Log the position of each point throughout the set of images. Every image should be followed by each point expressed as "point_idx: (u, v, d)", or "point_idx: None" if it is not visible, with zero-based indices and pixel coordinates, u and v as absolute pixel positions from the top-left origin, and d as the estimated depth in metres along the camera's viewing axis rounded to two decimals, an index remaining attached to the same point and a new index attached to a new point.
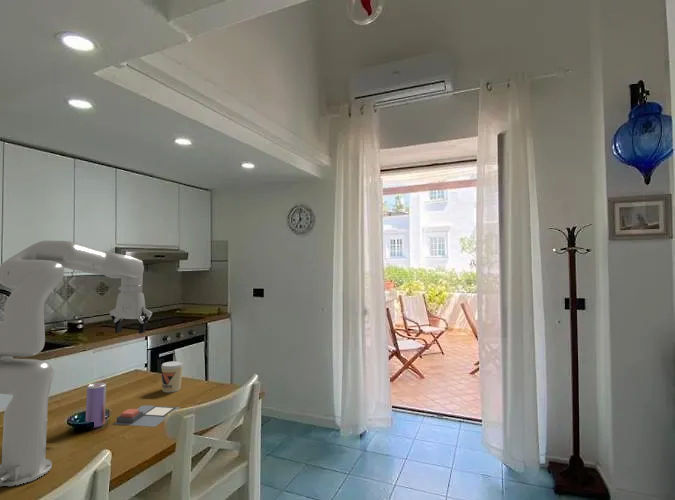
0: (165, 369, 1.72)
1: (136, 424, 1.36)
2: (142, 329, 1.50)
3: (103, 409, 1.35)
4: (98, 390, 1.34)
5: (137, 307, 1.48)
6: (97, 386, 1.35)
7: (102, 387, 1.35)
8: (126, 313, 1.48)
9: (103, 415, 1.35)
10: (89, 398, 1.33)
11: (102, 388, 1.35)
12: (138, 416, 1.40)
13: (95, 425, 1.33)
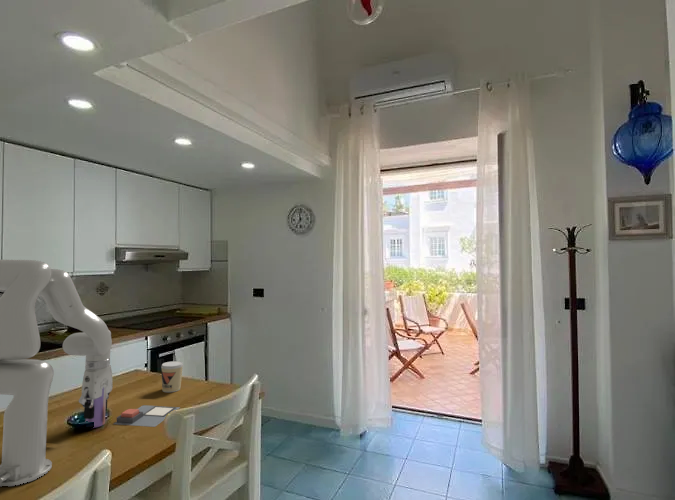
0: (165, 369, 1.72)
1: (136, 424, 1.36)
2: None
3: (103, 409, 1.35)
4: None
5: (111, 379, 1.40)
6: None
7: None
8: None
9: (103, 415, 1.35)
10: None
11: None
12: (138, 416, 1.40)
13: (95, 425, 1.33)
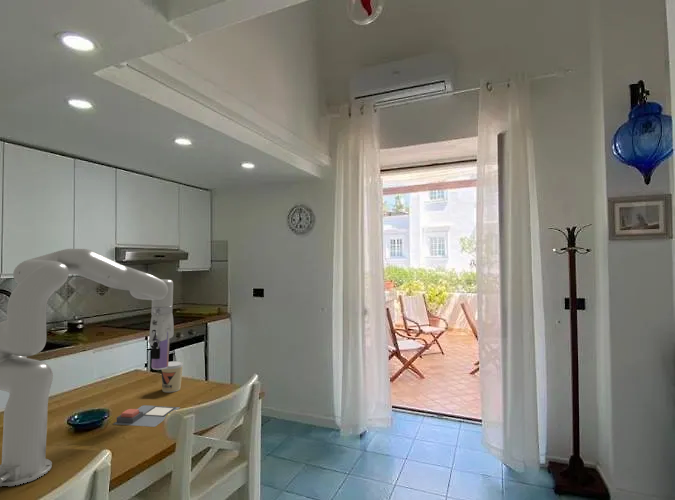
0: (165, 369, 1.72)
1: (136, 424, 1.36)
2: None
3: (167, 351, 1.48)
4: None
5: (173, 325, 1.53)
6: None
7: None
8: None
9: (167, 357, 1.48)
10: None
11: None
12: (138, 416, 1.40)
13: (161, 365, 1.46)
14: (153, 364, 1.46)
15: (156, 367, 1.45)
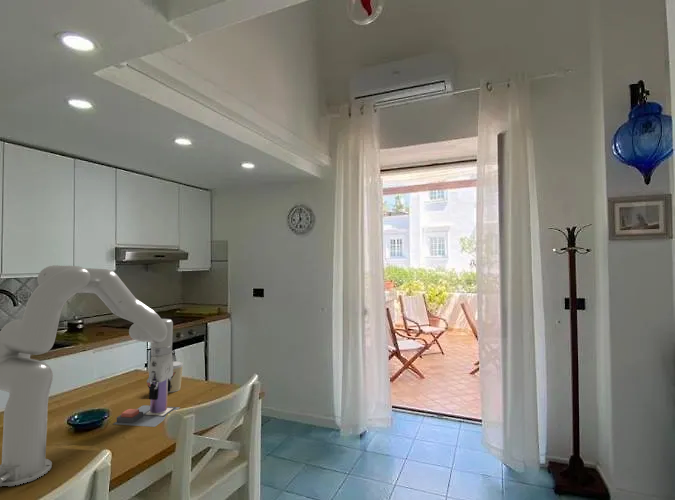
0: None
1: (136, 424, 1.36)
2: None
3: (166, 395, 1.47)
4: None
5: (172, 364, 1.52)
6: None
7: None
8: (167, 374, 1.48)
9: (166, 400, 1.47)
10: None
11: None
12: (138, 416, 1.40)
13: (159, 409, 1.45)
14: (152, 408, 1.45)
15: (155, 412, 1.45)
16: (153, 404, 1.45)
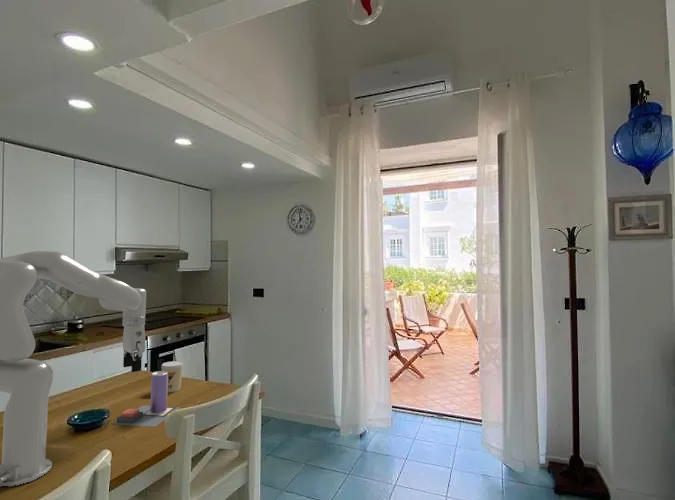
0: (165, 369, 1.72)
1: (136, 424, 1.36)
2: None
3: (166, 395, 1.47)
4: (162, 377, 1.46)
5: None
6: (161, 374, 1.47)
7: (165, 375, 1.47)
8: None
9: (166, 401, 1.47)
10: (154, 385, 1.45)
11: (165, 376, 1.47)
12: (138, 416, 1.40)
13: (159, 409, 1.45)
14: (152, 408, 1.45)
15: (155, 412, 1.45)
16: (153, 404, 1.45)
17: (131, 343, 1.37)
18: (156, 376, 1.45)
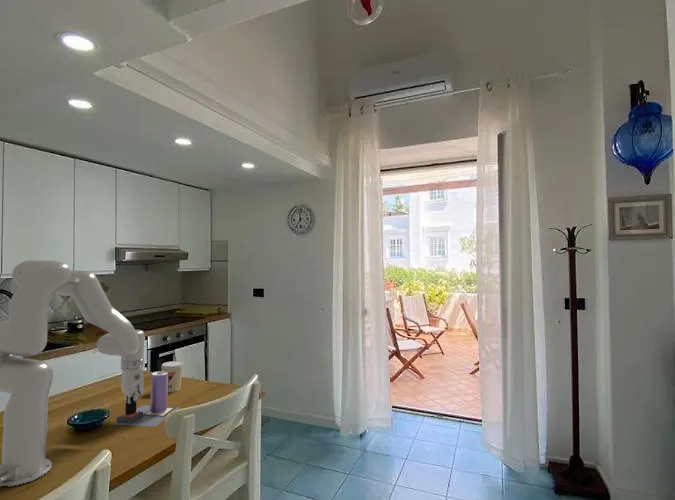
0: (165, 369, 1.72)
1: (136, 424, 1.36)
2: None
3: (166, 395, 1.47)
4: (162, 377, 1.46)
5: None
6: (161, 374, 1.47)
7: (165, 375, 1.47)
8: None
9: (166, 401, 1.47)
10: (154, 385, 1.45)
11: (165, 376, 1.47)
12: (138, 416, 1.40)
13: (159, 409, 1.45)
14: (152, 408, 1.45)
15: (155, 412, 1.45)
16: (153, 404, 1.45)
17: (129, 387, 1.36)
18: (156, 376, 1.45)
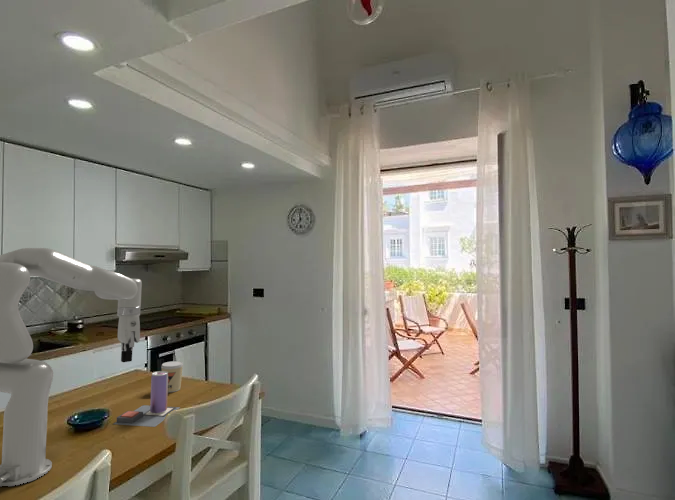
0: (165, 369, 1.72)
1: (136, 424, 1.36)
2: None
3: (166, 395, 1.47)
4: (162, 377, 1.46)
5: None
6: (161, 374, 1.47)
7: (165, 375, 1.47)
8: None
9: (166, 401, 1.47)
10: (154, 385, 1.45)
11: (165, 376, 1.47)
12: (138, 416, 1.40)
13: (159, 409, 1.45)
14: (152, 408, 1.45)
15: (155, 412, 1.45)
16: (153, 404, 1.45)
17: (125, 333, 1.36)
18: (156, 376, 1.45)
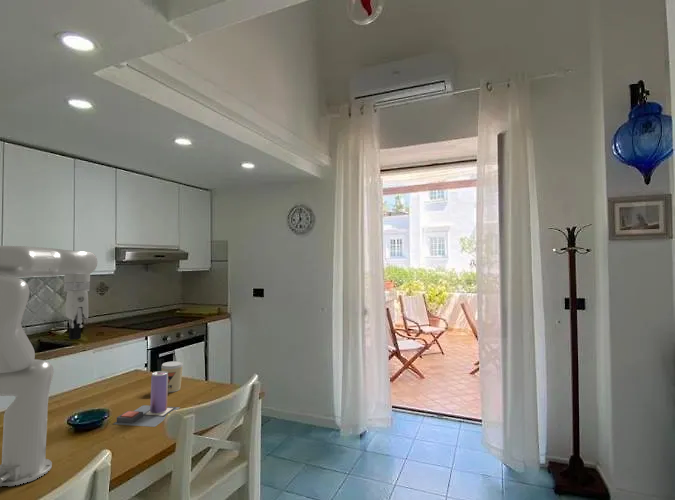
0: (165, 369, 1.72)
1: (136, 424, 1.36)
2: None
3: (166, 395, 1.47)
4: (162, 377, 1.46)
5: None
6: (161, 374, 1.47)
7: (165, 375, 1.47)
8: None
9: (166, 401, 1.47)
10: (154, 385, 1.45)
11: (165, 376, 1.47)
12: (138, 416, 1.40)
13: (159, 409, 1.45)
14: (152, 408, 1.45)
15: (155, 412, 1.45)
16: (153, 404, 1.45)
17: (72, 309, 1.29)
18: (156, 376, 1.45)
